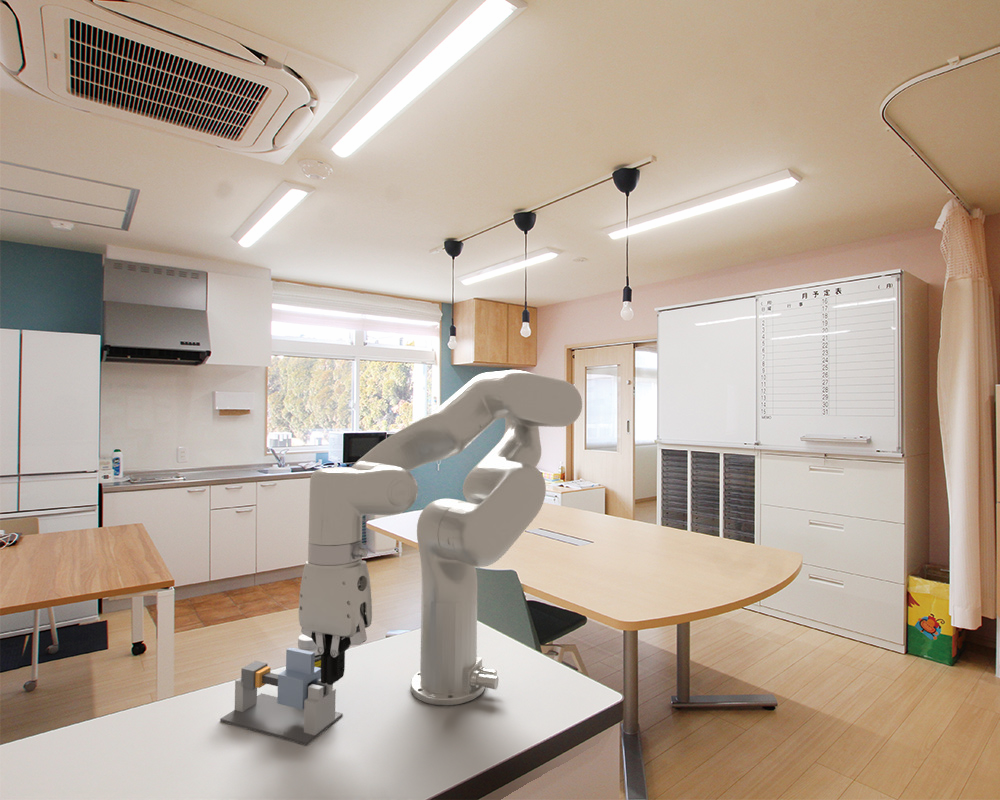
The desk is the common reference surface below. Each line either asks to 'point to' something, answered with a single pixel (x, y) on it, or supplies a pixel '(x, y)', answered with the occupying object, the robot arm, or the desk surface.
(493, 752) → the desk surface
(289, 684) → the light blue step block
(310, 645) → the supplement bottle
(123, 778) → the desk surface
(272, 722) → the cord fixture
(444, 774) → the desk surface
